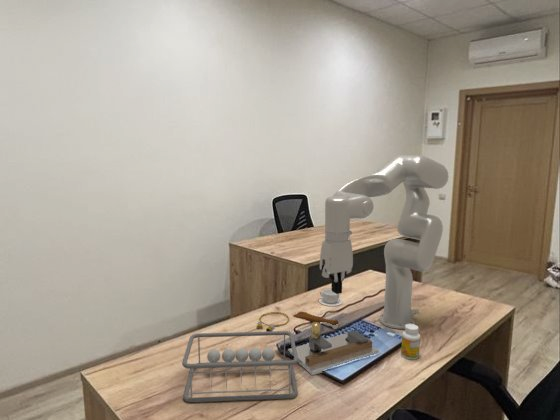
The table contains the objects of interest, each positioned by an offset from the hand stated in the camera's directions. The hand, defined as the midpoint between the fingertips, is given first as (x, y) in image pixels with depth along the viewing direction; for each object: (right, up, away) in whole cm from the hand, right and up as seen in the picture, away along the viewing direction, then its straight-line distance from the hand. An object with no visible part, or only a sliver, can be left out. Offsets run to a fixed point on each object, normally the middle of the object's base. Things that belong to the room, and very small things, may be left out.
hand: (336, 292), depth 127 cm
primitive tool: (-5, -16, +23) cm, 29 cm away
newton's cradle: (-29, -15, -7) cm, 34 cm away
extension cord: (-21, -16, +23) cm, 35 cm away
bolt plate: (-1, -19, 0) cm, 20 cm away
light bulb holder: (-6, -18, -3) cm, 19 cm away
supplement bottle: (+23, -20, -1) cm, 30 cm away
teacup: (+3, -13, +42) cm, 44 cm away
